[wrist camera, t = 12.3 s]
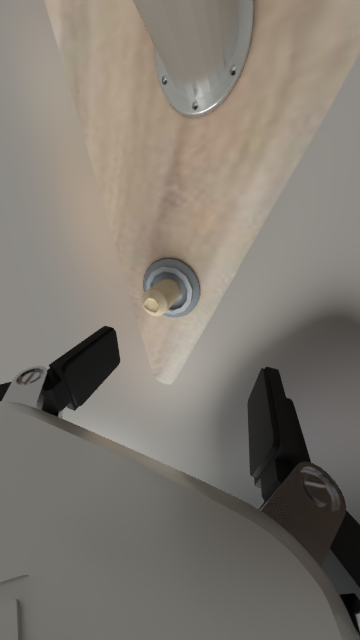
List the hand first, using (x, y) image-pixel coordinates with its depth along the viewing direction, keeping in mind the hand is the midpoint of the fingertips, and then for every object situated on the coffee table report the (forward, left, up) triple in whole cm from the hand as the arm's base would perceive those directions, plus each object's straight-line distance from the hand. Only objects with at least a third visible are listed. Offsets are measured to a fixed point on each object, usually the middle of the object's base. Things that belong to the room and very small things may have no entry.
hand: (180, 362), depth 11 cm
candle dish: (+6, -11, -28) cm, 31 cm away
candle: (+6, -11, -28) cm, 31 cm away
